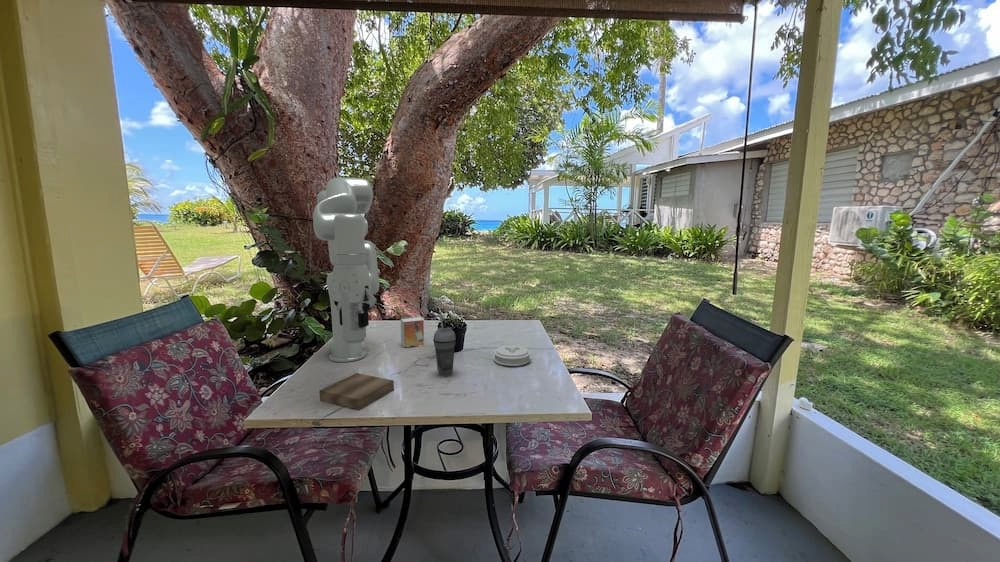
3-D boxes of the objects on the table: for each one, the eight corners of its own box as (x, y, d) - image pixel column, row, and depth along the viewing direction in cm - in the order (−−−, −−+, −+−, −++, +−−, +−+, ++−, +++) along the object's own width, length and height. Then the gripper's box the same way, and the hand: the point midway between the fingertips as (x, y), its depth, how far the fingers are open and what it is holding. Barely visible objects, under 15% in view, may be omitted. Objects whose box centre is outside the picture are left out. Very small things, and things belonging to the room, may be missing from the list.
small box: (404, 348, 159) (403, 321, 158) (401, 344, 164) (400, 318, 163) (424, 345, 162) (423, 319, 161) (421, 342, 168) (420, 316, 166)
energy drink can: (358, 336, 119) (356, 285, 117) (370, 340, 115) (368, 287, 113) (339, 341, 114) (336, 287, 112) (351, 345, 110) (348, 290, 108)
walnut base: (320, 400, 114) (319, 390, 113) (356, 382, 126) (356, 373, 126) (359, 410, 108) (358, 399, 107) (393, 390, 121) (393, 380, 120)
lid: (495, 355, 152) (495, 342, 151) (529, 356, 151) (529, 342, 150) (493, 368, 139) (493, 353, 138) (530, 368, 139) (531, 354, 138)
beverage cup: (452, 379, 129) (451, 316, 126) (430, 377, 130) (428, 315, 127) (459, 370, 136) (458, 311, 133) (438, 369, 137) (437, 310, 134)
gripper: (316, 260, 111) (320, 325, 114) (366, 263, 104) (369, 332, 107) (337, 257, 118) (341, 319, 121) (385, 260, 111) (388, 325, 114)
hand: (354, 324), depth 114 cm, fingers closed on energy drink can, 6 cm apart
